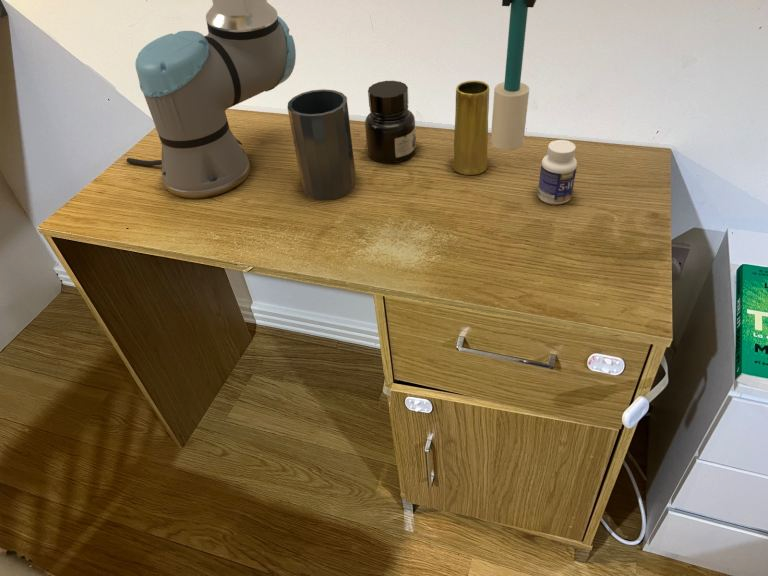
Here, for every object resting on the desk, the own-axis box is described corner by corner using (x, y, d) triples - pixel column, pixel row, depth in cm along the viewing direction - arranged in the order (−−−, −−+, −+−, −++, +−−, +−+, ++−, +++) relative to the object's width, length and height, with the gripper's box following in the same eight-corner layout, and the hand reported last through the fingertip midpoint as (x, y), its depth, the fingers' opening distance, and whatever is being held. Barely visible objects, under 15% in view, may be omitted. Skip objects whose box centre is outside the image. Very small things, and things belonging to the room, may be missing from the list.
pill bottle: (560, 209, 92) (568, 158, 86) (531, 198, 94) (537, 148, 88) (577, 194, 94) (586, 144, 88) (548, 183, 97) (555, 134, 91)
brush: (487, 148, 73) (502, -76, 56) (493, 133, 75) (510, -85, 59) (520, 152, 72) (545, -76, 55) (525, 136, 74) (550, -85, 58)
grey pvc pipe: (294, 196, 99) (277, 112, 89) (315, 168, 106) (302, 87, 96) (344, 203, 97) (333, 118, 87) (363, 174, 103) (355, 91, 93)
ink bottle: (410, 166, 104) (407, 102, 96) (362, 164, 106) (355, 100, 98) (420, 140, 111) (418, 77, 103) (374, 137, 113) (369, 76, 105)
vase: (487, 157, 105) (491, 78, 95) (488, 175, 100) (493, 95, 91) (452, 157, 105) (453, 79, 96) (452, 176, 101) (453, 96, 91)
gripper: (445, -307, 46) (442, 11, 62) (648, -328, 42) (589, 18, 58) (466, -304, 51) (459, -12, 67) (649, -322, 47) (595, -6, 63)
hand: (519, 2), depth 62 cm, fingers closed on brush, 2 cm apart
